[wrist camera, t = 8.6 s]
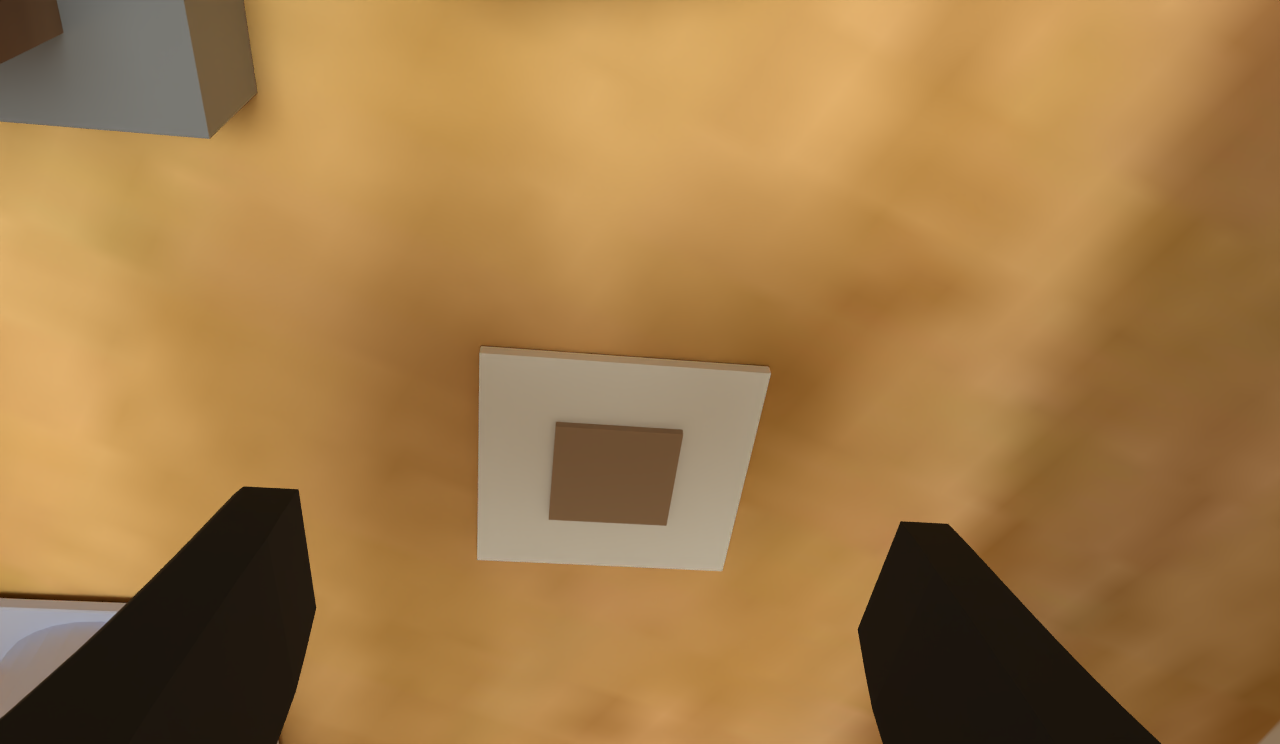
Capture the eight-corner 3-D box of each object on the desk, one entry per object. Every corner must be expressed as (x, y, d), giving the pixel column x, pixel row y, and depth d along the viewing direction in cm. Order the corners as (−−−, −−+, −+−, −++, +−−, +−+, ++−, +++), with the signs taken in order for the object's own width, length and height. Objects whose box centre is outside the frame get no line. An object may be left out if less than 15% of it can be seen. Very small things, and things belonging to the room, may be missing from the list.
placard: (720, 563, 25) (723, 576, 25) (478, 551, 24) (476, 565, 24) (769, 366, 21) (772, 378, 21) (481, 346, 20) (478, 357, 20)
